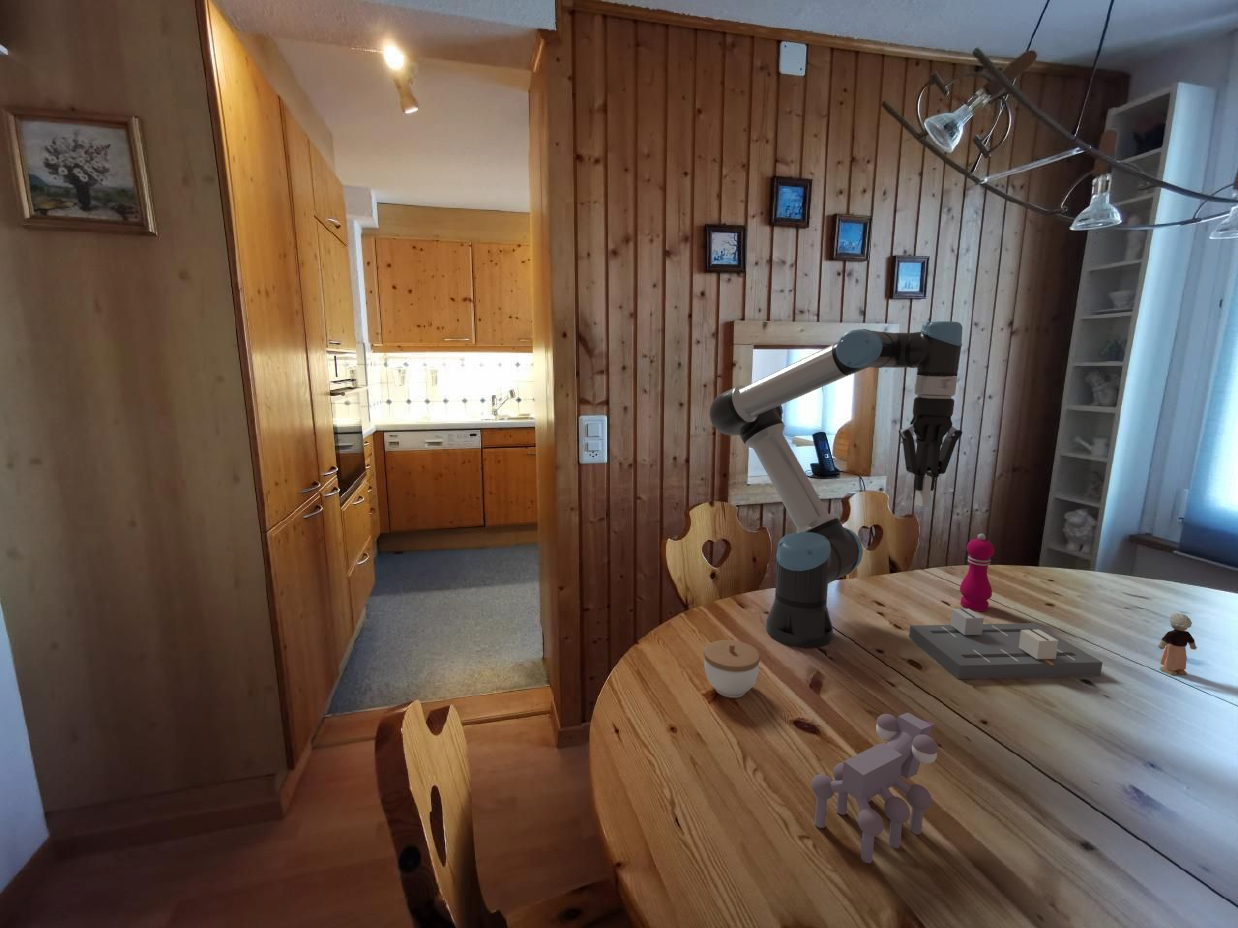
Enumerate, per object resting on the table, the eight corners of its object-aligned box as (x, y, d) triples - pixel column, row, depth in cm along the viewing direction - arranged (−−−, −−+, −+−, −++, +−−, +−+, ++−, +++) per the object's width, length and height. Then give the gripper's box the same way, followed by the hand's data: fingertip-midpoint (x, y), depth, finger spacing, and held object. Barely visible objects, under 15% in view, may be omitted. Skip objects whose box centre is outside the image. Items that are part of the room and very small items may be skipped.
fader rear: (964, 635, 125) (966, 617, 125) (950, 625, 130) (952, 608, 129) (981, 634, 125) (983, 617, 125) (967, 624, 130) (969, 607, 130)
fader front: (1036, 659, 115) (1039, 640, 114) (1018, 647, 120) (1020, 629, 119) (1055, 658, 115) (1058, 639, 114) (1036, 646, 120) (1039, 628, 119)
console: (959, 680, 113) (961, 666, 113) (909, 637, 131) (910, 625, 131) (1102, 676, 114) (1104, 662, 114) (1032, 634, 132) (1034, 622, 132)
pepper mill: (962, 610, 146) (970, 536, 143) (954, 599, 153) (962, 528, 150) (994, 613, 144) (1002, 538, 141) (985, 602, 151) (993, 531, 148)
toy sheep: (893, 768, 88) (904, 690, 85) (961, 817, 79) (976, 733, 76) (802, 816, 78) (811, 731, 76) (867, 879, 69) (881, 785, 67)
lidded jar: (712, 669, 117) (713, 627, 116) (763, 682, 113) (765, 638, 111) (695, 696, 108) (696, 650, 106) (751, 710, 103) (753, 663, 102)
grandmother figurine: (1173, 664, 119) (1183, 608, 117) (1195, 673, 115) (1206, 616, 113) (1146, 669, 117) (1156, 612, 115) (1168, 678, 114) (1178, 620, 112)
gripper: (914, 397, 114) (902, 509, 119) (976, 398, 115) (961, 509, 119) (894, 395, 122) (883, 500, 126) (952, 396, 122) (940, 501, 127)
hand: (921, 504), depth 123 cm, fingers closed
